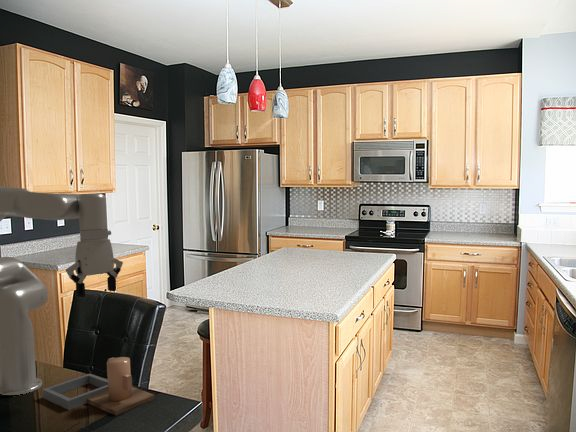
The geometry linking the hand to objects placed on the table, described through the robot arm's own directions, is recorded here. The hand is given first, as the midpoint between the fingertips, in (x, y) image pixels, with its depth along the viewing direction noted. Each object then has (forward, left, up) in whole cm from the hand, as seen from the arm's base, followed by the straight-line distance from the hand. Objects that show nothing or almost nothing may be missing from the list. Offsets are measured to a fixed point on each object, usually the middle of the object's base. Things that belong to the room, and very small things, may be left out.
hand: (97, 293), depth 139 cm
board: (+13, -2, -28) cm, 31 cm away
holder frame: (-1, -6, -28) cm, 29 cm away
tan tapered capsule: (+13, -2, -27) cm, 30 cm away
